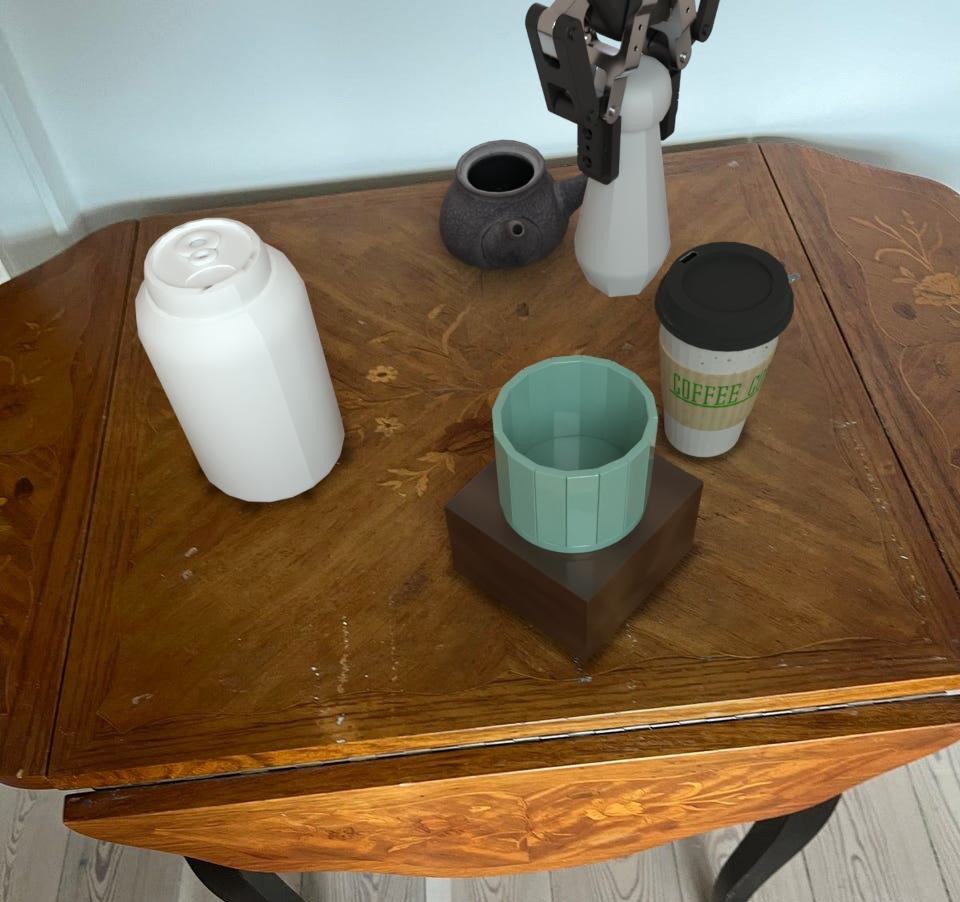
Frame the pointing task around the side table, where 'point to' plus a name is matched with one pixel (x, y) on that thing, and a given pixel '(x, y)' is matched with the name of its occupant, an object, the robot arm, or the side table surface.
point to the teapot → (506, 206)
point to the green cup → (574, 452)
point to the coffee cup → (717, 340)
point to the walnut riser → (573, 559)
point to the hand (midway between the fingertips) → (627, 153)
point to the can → (239, 359)
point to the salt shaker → (629, 193)
